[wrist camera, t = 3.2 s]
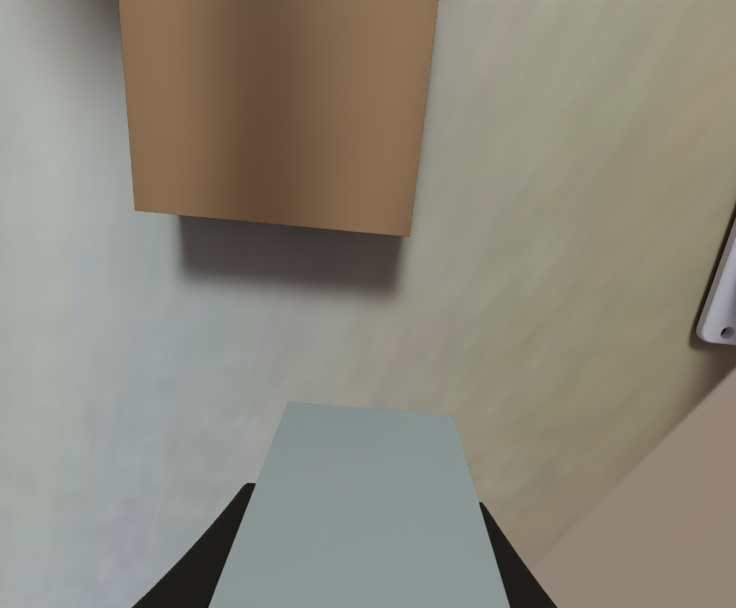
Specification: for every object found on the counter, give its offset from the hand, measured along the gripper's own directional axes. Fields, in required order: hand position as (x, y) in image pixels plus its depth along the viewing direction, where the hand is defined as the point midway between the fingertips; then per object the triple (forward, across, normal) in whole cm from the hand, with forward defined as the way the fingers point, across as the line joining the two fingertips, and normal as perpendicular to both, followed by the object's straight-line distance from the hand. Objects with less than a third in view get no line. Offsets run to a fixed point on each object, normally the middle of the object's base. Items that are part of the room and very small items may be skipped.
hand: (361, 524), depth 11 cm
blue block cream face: (+2, 0, 0) cm, 2 cm away
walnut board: (+8, +4, -11) cm, 14 cm away
